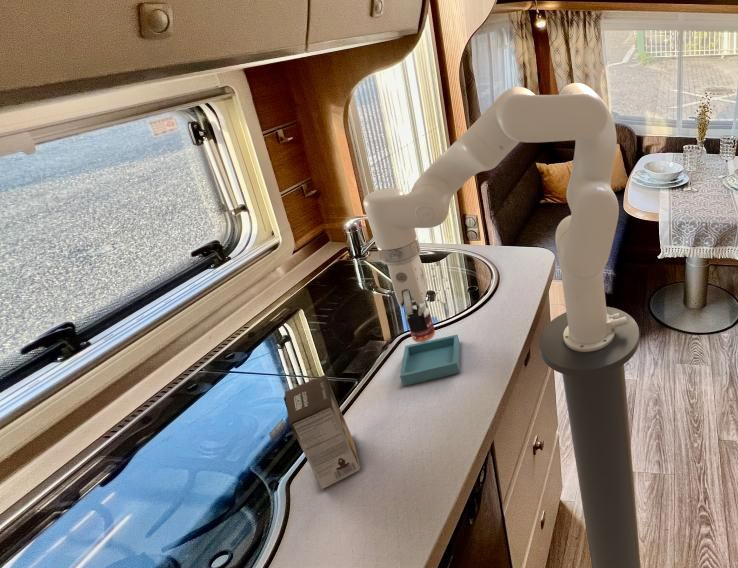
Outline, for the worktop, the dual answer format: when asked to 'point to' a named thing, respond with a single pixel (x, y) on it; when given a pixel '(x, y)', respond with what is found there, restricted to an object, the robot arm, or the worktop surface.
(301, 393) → the coffee box
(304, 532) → the worktop surface
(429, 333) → the pill bottle
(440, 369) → the medicine tray
